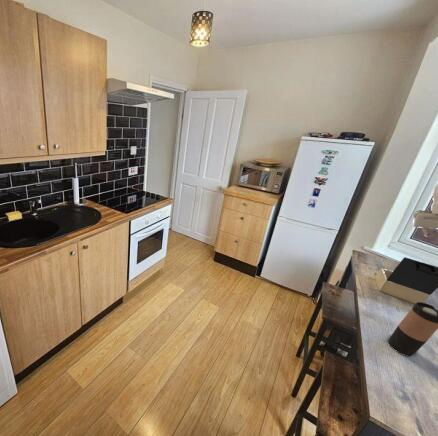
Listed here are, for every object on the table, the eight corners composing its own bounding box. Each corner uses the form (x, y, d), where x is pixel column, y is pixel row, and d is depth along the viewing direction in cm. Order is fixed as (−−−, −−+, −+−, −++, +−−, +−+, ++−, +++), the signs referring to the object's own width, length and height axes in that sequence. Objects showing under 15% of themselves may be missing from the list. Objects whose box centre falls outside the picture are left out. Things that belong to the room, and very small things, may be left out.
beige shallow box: (374, 277, 131) (380, 267, 128) (412, 289, 123) (420, 280, 120) (379, 290, 120) (386, 280, 117) (421, 305, 112) (429, 295, 109)
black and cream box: (404, 257, 109) (405, 262, 106) (452, 271, 101) (456, 277, 98) (386, 279, 117) (387, 285, 114) (430, 294, 109) (432, 300, 106)
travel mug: (389, 349, 88) (419, 311, 79) (384, 335, 94) (412, 298, 85) (416, 361, 84) (451, 322, 76) (410, 346, 90) (442, 308, 81)
